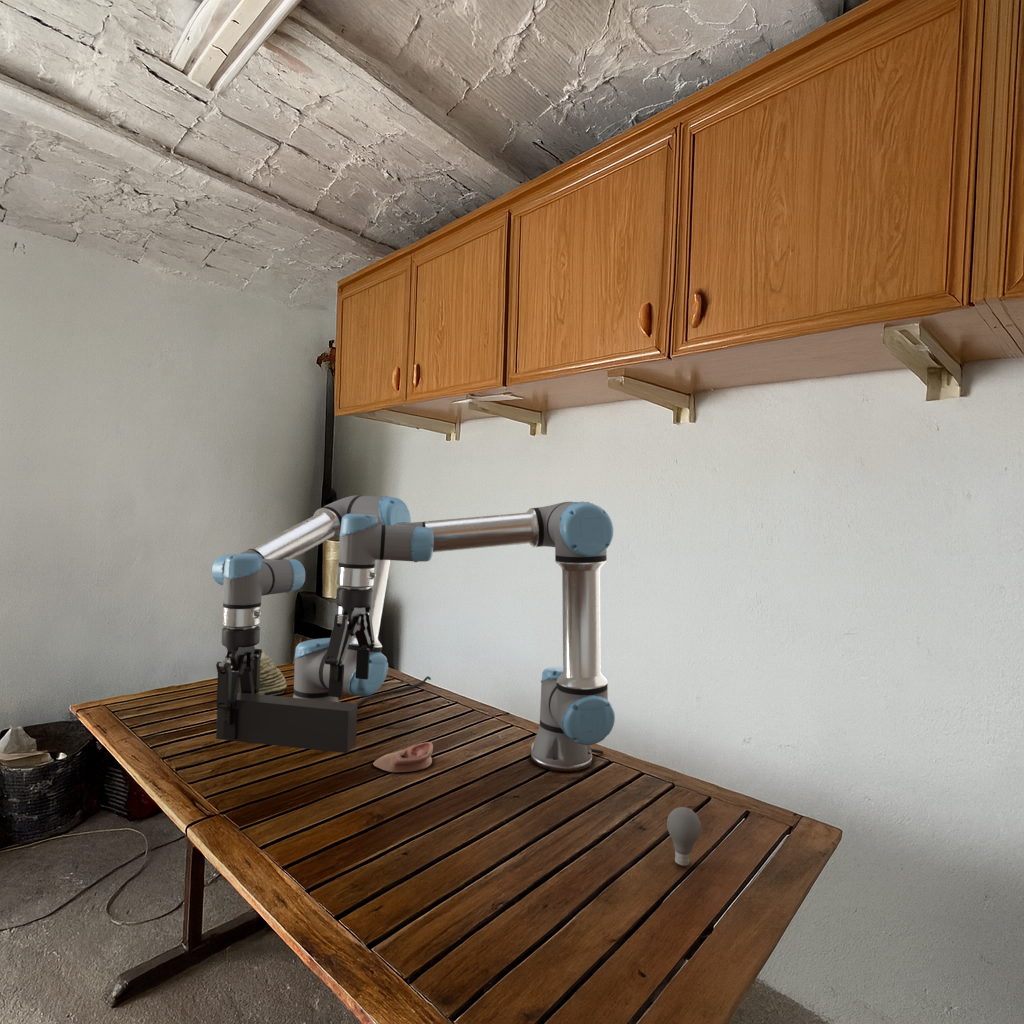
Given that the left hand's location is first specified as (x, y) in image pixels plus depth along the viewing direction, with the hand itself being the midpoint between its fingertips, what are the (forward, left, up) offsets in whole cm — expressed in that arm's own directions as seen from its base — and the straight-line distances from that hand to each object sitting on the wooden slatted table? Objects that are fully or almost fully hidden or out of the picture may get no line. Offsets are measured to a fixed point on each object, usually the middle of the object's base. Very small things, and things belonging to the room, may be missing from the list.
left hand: (237, 733), depth 136 cm
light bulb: (-39, +84, -12) cm, 94 cm away
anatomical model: (-33, +16, -12) cm, 39 cm away
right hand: (-13, +20, +12) cm, 27 cm away
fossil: (-35, -55, -12) cm, 66 cm away
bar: (-6, +10, -1) cm, 11 cm away
